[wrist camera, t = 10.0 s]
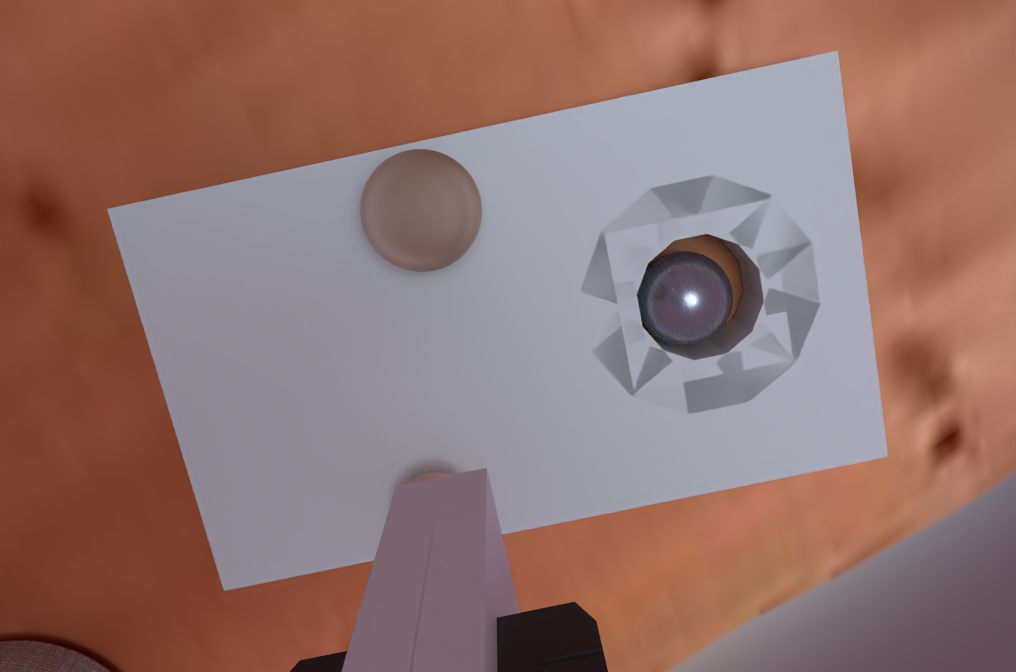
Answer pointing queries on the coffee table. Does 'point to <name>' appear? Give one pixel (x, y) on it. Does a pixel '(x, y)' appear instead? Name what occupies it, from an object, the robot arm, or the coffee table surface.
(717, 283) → the steel ball
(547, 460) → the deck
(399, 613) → the robot arm
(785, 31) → the coffee table surface
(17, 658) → the planter
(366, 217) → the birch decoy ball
